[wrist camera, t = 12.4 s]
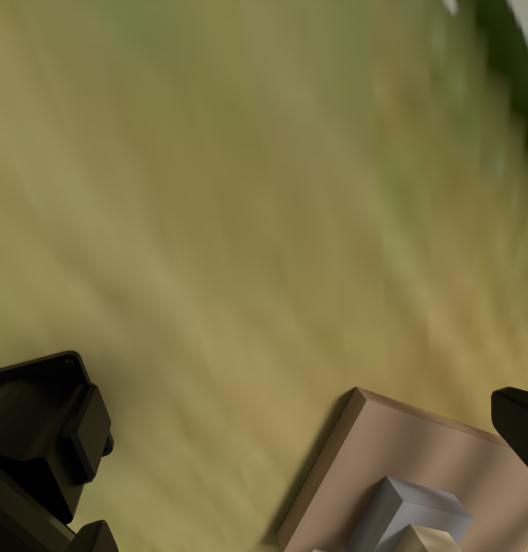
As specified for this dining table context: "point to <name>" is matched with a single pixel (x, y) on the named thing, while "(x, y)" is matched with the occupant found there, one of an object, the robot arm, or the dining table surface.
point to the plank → (408, 476)
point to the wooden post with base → (410, 520)
